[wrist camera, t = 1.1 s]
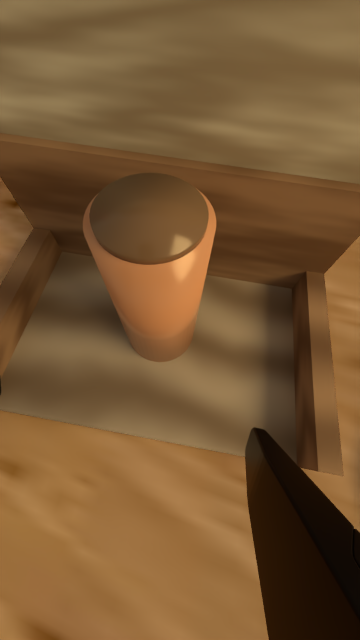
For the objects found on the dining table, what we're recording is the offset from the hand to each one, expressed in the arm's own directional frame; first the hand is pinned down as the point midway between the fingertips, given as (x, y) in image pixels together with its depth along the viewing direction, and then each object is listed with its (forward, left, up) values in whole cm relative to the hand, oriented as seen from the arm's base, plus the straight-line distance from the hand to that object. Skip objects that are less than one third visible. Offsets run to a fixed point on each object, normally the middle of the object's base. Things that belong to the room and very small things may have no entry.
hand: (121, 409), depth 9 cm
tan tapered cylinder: (+6, +5, -12) cm, 15 cm away
